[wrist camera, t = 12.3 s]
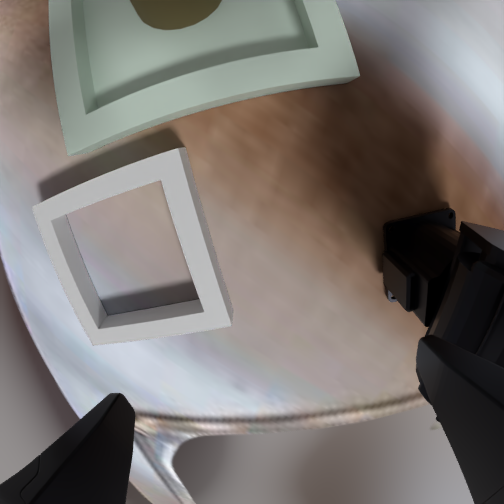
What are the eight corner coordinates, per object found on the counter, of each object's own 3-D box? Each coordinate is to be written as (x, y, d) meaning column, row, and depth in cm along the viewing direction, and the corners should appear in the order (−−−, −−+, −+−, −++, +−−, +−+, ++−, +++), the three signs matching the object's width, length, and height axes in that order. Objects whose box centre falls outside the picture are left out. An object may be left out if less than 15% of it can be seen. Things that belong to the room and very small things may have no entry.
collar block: (185, 147, 17) (178, 147, 16) (233, 310, 22) (232, 325, 20) (46, 200, 18) (31, 207, 16) (101, 331, 23) (92, 345, 21)
